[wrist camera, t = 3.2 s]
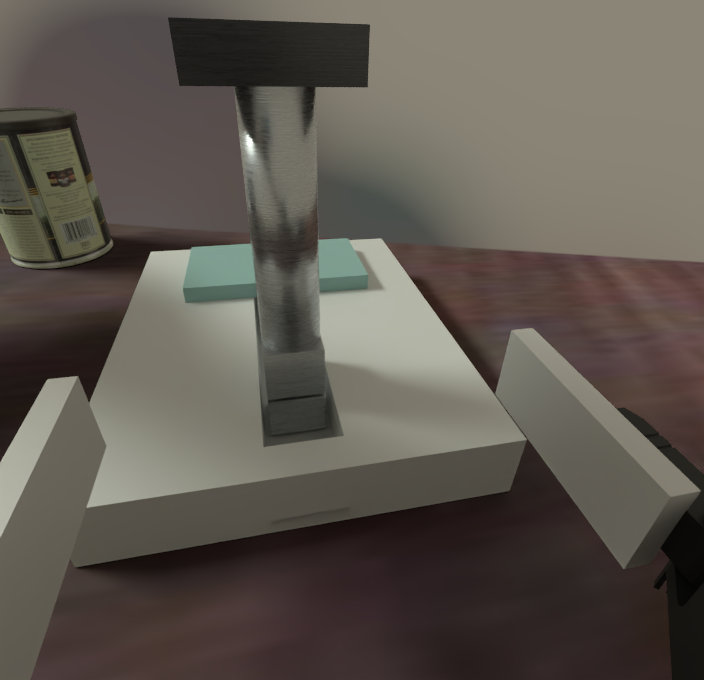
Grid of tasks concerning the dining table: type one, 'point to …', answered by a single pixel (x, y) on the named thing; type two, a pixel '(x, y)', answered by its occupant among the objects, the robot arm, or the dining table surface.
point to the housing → (254, 421)
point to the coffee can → (48, 191)
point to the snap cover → (239, 279)
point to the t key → (279, 179)
